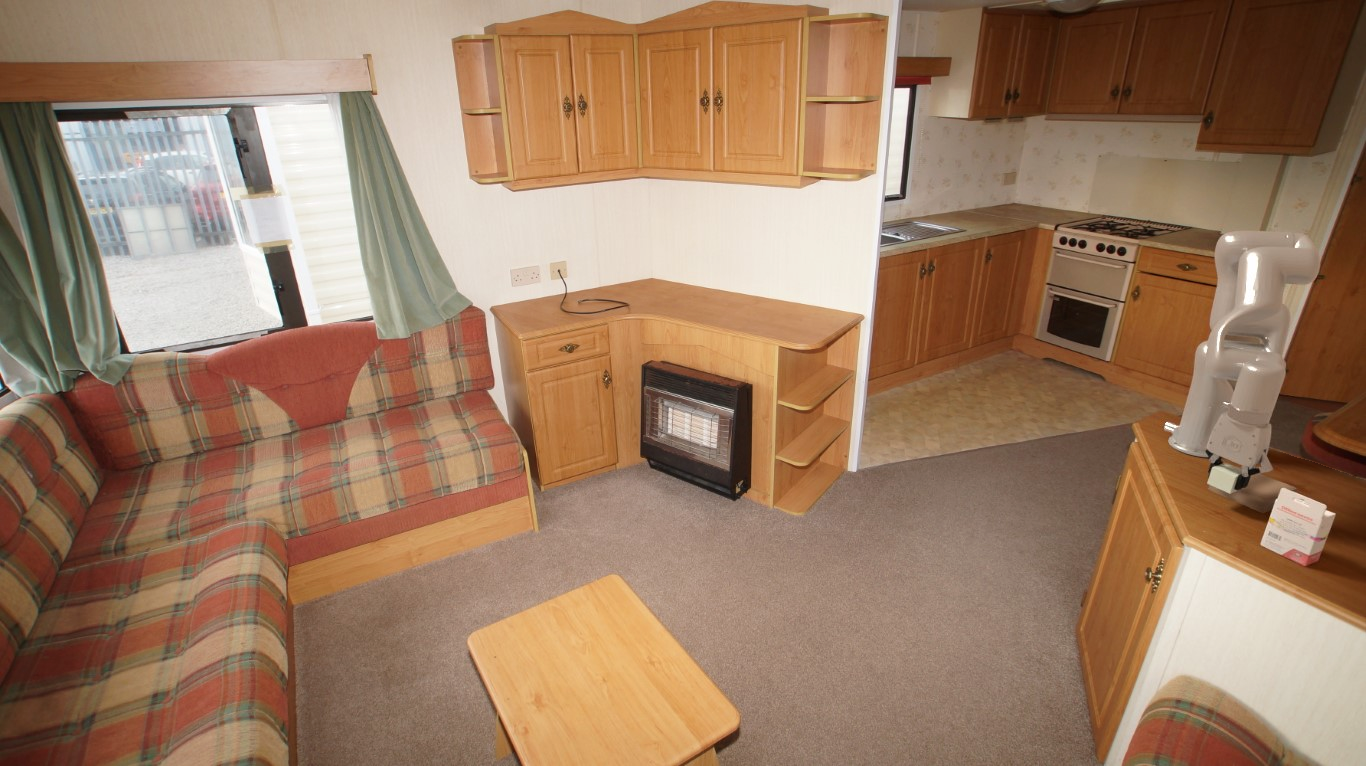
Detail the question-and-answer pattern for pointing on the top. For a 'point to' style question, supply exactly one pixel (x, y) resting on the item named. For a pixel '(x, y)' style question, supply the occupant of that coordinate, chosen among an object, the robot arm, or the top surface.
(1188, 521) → the top surface
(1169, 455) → the top surface
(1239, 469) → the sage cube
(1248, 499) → the walnut block
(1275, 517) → the ink cartridge box
